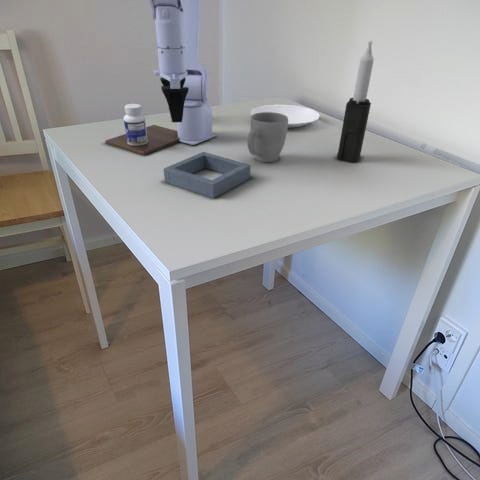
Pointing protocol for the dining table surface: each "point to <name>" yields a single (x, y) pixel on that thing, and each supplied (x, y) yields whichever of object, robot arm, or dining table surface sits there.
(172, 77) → the robot arm
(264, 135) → the mug
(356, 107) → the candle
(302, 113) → the plate
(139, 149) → the board
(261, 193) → the dining table surface
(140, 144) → the pill bottle
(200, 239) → the dining table surface
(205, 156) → the square frame
